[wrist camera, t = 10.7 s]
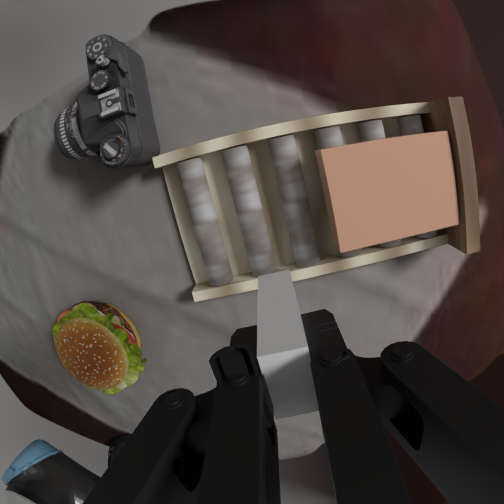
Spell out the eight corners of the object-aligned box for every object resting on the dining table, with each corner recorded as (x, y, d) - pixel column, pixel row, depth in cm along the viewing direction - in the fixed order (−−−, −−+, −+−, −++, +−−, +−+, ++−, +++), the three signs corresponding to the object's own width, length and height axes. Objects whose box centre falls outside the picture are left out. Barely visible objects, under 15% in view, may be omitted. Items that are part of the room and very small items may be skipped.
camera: (71, 81, 32) (25, 68, 23) (146, 48, 31) (112, 21, 22) (91, 183, 36) (46, 194, 27) (170, 157, 35) (139, 159, 26)
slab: (333, 243, 34) (340, 252, 31) (314, 150, 31) (320, 149, 28) (443, 217, 33) (459, 224, 30) (431, 131, 30) (447, 130, 27)
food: (99, 381, 46) (80, 413, 38) (54, 308, 42) (25, 333, 34) (168, 366, 44) (154, 402, 36) (121, 281, 40) (94, 308, 33)
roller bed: (199, 290, 40) (186, 320, 33) (160, 157, 35) (137, 158, 28) (448, 233, 37) (479, 250, 30) (429, 104, 32) (462, 96, 25)
